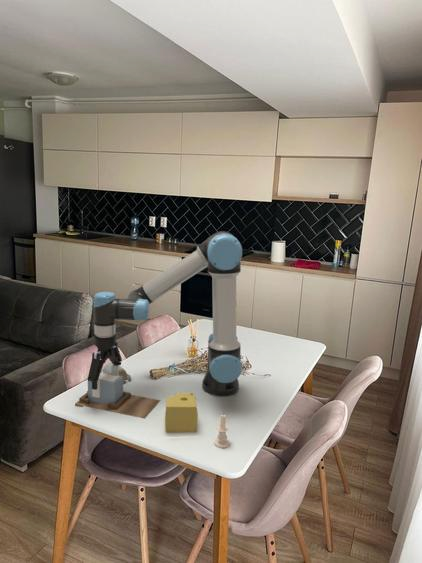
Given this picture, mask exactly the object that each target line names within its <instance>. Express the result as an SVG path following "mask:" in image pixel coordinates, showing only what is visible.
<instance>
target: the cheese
mask: <svg viewBox="0 0 422 563" xmlns="http://www.w3.org/2000/svg"><path fill="white" fill-rule="evenodd" d="M165 401H166V402H165V403H166V404H165V414H164V424H165V425H164V428H165V432H166V433H188V432H189V433H196V431H197V427H198V421H199V420H198V418H199V417H198V416H199V415H198V414H199V413H198V407H197V401H196V393H195V392H193V393H192V392H177V393H174V395H173V396H168V397H166V400H165Z"/></svg>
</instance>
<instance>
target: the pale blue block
mask: <svg viewBox="0 0 422 563" xmlns="http://www.w3.org/2000/svg"><path fill="white" fill-rule="evenodd" d="M98 380H100V397H99V398H98V397H92V381H88V380H87V391H88V399H90V401H91V402H96V403H101V404H106V405H108V404H109V403H113V404H116V403H117V402H118V401H119V400H120V399H121V398H122V397H123V392H124V383H123V376H119V375H114V374H108V373H103V371H101V373H100V376H99V379H98Z"/></svg>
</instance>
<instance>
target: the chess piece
mask: <svg viewBox="0 0 422 563" xmlns="http://www.w3.org/2000/svg"><path fill="white" fill-rule="evenodd" d="M226 418H227V416H226V414H225V413H223V414H221V416H220V422H219V425H217V426H216V430H217V431H218V434H217V436H216V437H217V438H215V439H214V440H213V444H214V446H215V447H216V448H220V449H225V448H228V447H229V446H230V445H231V441H230V439H228V435H227V432H228V431H229V430H230V428H229V427H228V426H227V425H226V422H227V421H226V420H227V419H226Z"/></svg>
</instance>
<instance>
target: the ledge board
mask: <svg viewBox="0 0 422 563" xmlns="http://www.w3.org/2000/svg"><path fill="white" fill-rule="evenodd" d="M131 393H132V392H127V391H123V397H122V398H121V399H120V400H119V401H118V402H117V403H116V404H113V403H109V404H108V405H106V404H101V403H96V402H91V401H90V399H88V390H86V392H85V393H84V394H83V395H82V396H80V397H79V398H78V401H76V402H75V403H74V406H75V407H79V408H80V407H81V408H83V407H85V408H86V407H88V408H92V409H95V410H101V411H107V412H111V413H116V414H120V415H126V416H130V417H134V418H135V417H136V418H140V419H146V418H147V417H148V416H149V414H150V413H151V412H152V411H153V410H154V409H155V408H156V407H157V406H158V404H159V403H160V402H161V399H155V398H152V397H151V398H150V397H146V396H140V395H135V394H131Z"/></svg>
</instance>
